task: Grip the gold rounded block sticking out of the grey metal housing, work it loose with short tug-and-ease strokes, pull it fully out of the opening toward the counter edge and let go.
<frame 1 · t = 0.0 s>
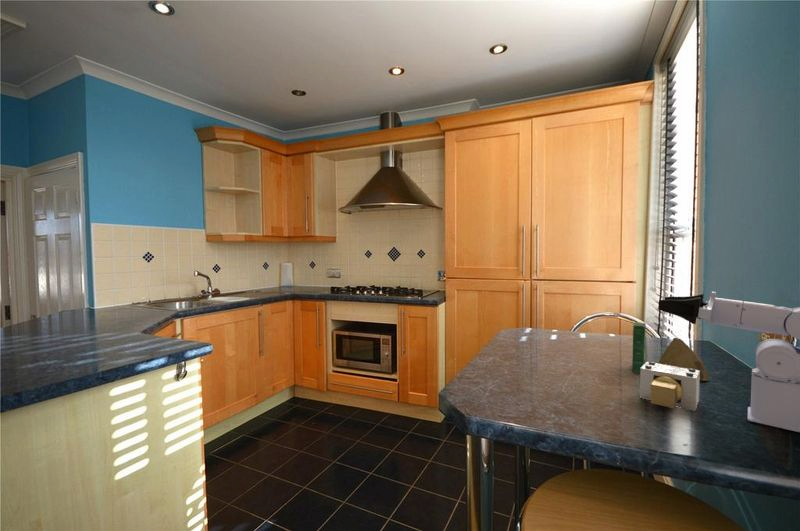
hand: (661, 302, 86), 22 cm above the countertop, tool horizontal, fingers open, 7 cm apart
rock: (682, 377, 101), on the countertop
housing: (669, 400, 84), on the countertop
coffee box: (638, 369, 107), on the countertop
gold rounded block: (666, 388, 82), point 4 cm above the countertop, slide at 0.0 cm
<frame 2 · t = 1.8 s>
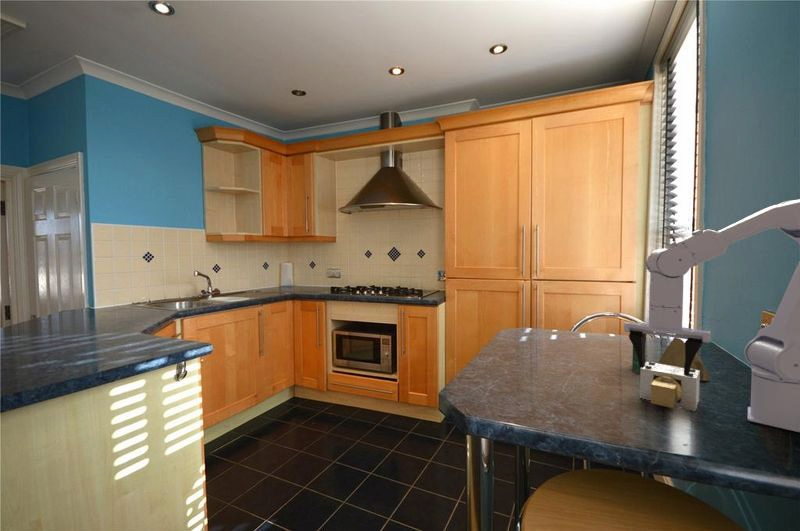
hand: (663, 370, 78), 9 cm above the countertop, tool pointing down, fingers open, 7 cm apart
nothing on the countertop moved.
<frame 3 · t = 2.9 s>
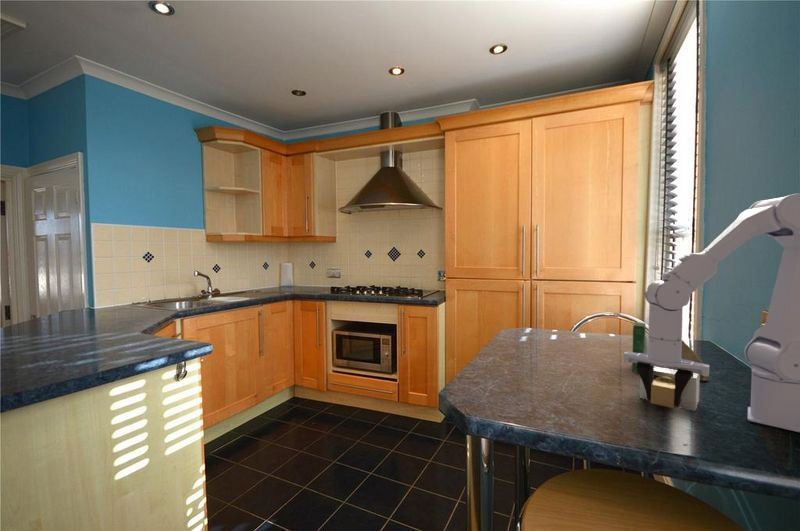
hand: (663, 401, 79), 2 cm above the countertop, tool pointing down, fingers closed on gold rounded block, 4 cm apart
gold rounded block: (666, 388, 82), point 3 cm above the countertop, slide at 0.0 cm, touching gripper
everything else where it was.
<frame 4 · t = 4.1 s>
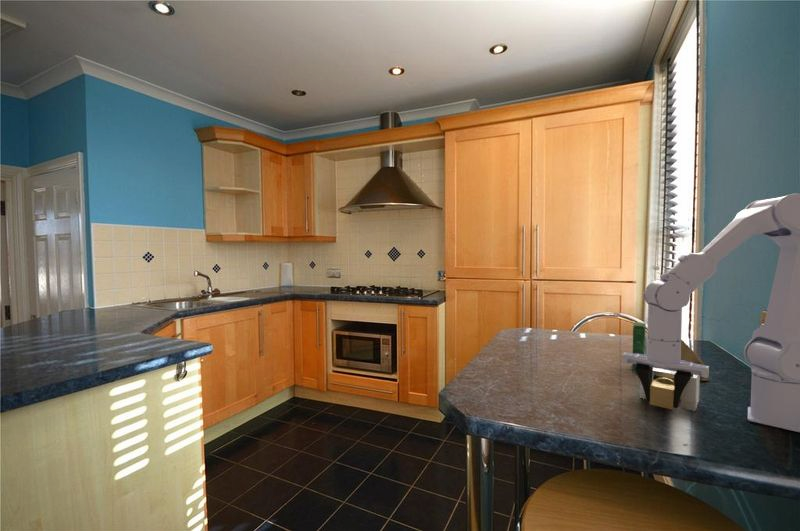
hand: (662, 403, 78), 2 cm above the countertop, tool pointing down, fingers closed on gold rounded block, 4 cm apart
gold rounded block: (666, 389, 81), point 4 cm above the countertop, slide at 1.0 cm, touching gripper
everything else where it was.
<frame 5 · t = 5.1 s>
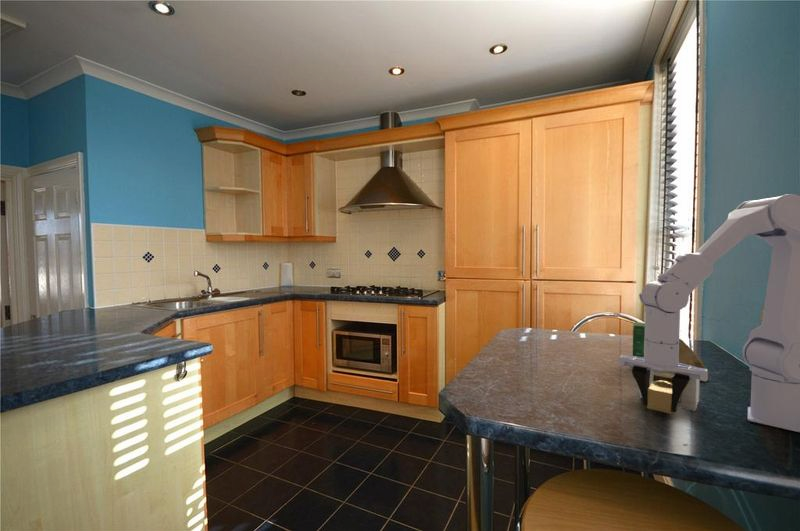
hand: (659, 407, 76), 2 cm above the countertop, tool pointing down, fingers closed on gold rounded block, 4 cm apart
gold rounded block: (664, 393, 79), point 4 cm above the countertop, slide at 3.6 cm, touching gripper
everything else where it was.
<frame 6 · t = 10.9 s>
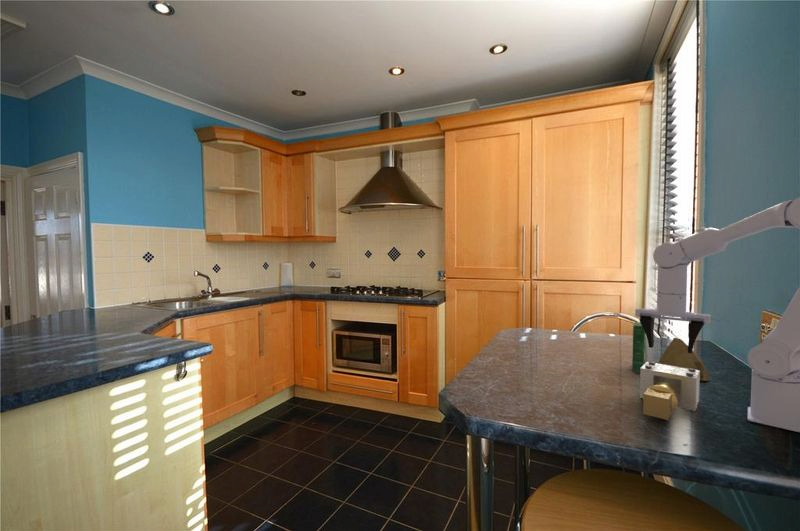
hand: (670, 349, 90), 10 cm above the countertop, tool pointing down, fingers open, 7 cm apart
gold rounded block: (660, 398, 76), point 4 cm above the countertop, slide at 7.4 cm
everything else where it was.
at the end: gold rounded block slide at 7.4 cm; the gripper is holding nothing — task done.
